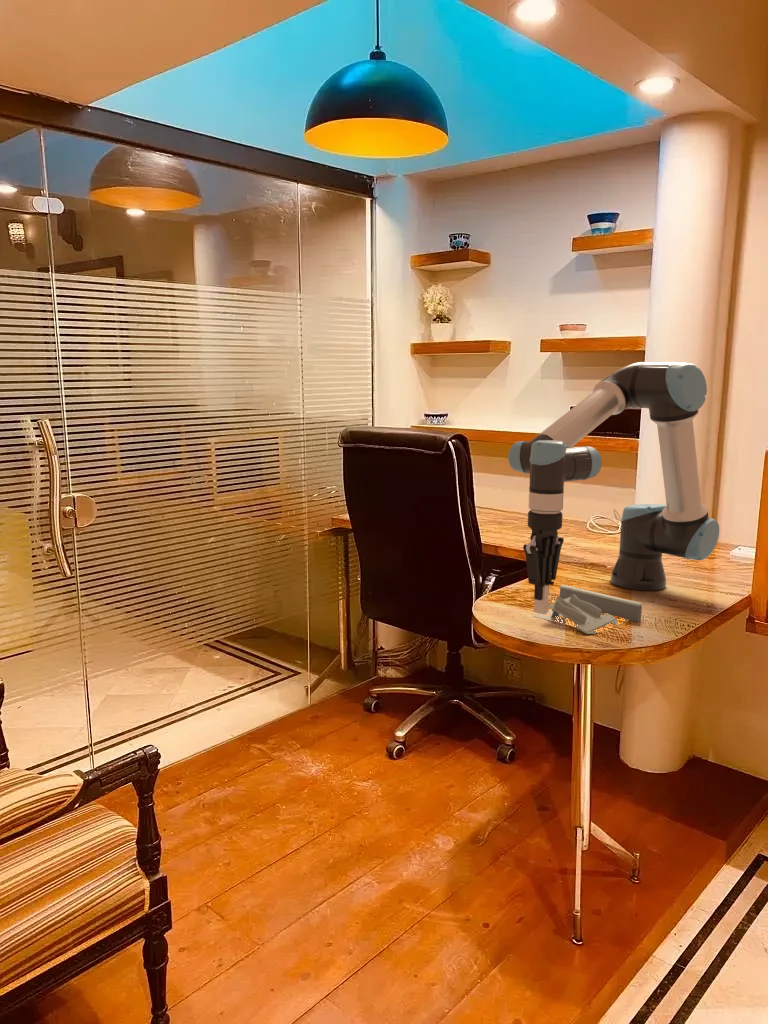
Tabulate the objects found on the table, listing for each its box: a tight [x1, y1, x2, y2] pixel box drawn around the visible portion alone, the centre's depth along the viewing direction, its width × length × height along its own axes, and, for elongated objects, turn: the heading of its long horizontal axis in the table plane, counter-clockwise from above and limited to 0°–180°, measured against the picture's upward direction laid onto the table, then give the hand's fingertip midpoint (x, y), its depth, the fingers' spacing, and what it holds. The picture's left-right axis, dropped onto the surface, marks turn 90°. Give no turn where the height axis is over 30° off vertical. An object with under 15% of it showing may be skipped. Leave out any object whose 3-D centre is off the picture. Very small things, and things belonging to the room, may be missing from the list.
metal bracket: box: [548, 595, 617, 635], centre depth 188 cm, size 14×6×15 cm
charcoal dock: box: [532, 584, 644, 626], centre depth 192 cm, size 17×22×5 cm
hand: (540, 612), depth 178 cm, fingers closed
